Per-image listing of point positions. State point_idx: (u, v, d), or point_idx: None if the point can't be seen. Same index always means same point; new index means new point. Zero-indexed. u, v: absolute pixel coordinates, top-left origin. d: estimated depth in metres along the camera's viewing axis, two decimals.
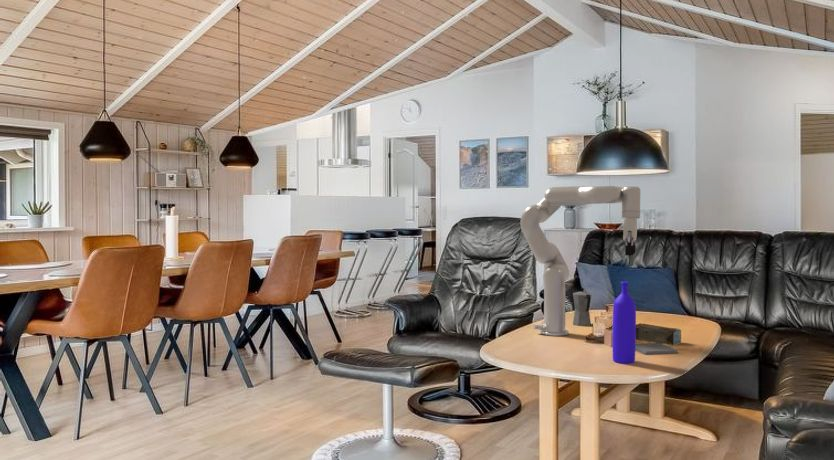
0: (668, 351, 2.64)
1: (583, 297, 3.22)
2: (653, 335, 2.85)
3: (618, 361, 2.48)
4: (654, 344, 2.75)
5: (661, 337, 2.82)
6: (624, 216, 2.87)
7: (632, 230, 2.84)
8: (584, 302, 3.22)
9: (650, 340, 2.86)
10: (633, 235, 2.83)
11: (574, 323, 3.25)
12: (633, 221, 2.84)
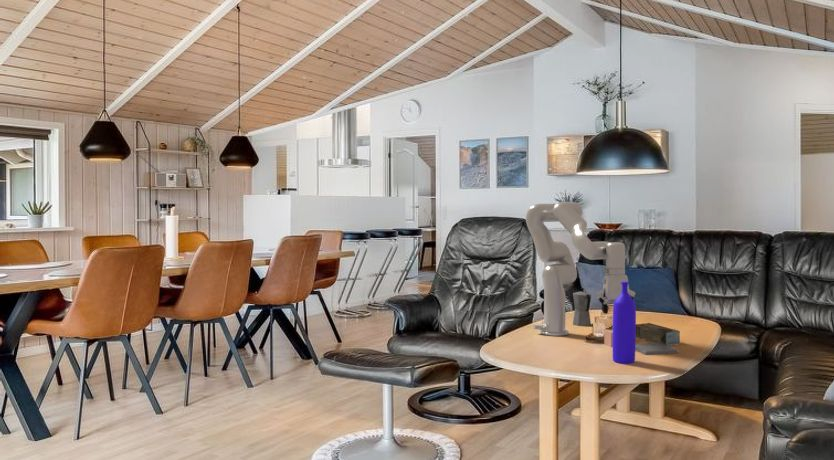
0: (668, 351, 2.64)
1: (583, 297, 3.22)
2: (650, 334, 2.86)
3: (618, 361, 2.48)
4: (654, 344, 2.75)
5: (657, 337, 2.83)
6: (624, 273, 2.76)
7: None
8: (584, 302, 3.22)
9: (648, 339, 2.88)
10: None
11: (574, 323, 3.25)
12: None
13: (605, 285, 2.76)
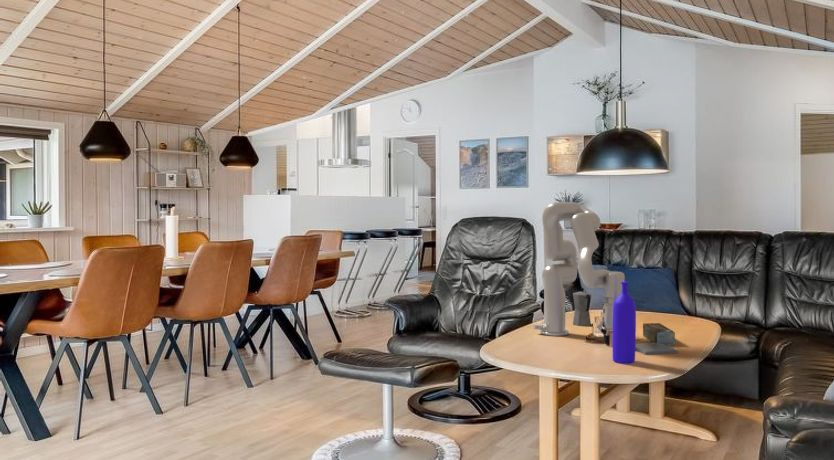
0: (668, 351, 2.64)
1: (583, 297, 3.22)
2: (649, 333, 2.88)
3: (618, 361, 2.48)
4: (654, 344, 2.75)
5: (652, 336, 2.84)
6: None
7: None
8: (584, 302, 3.22)
9: (648, 338, 2.89)
10: None
11: (574, 323, 3.25)
12: None
13: (604, 314, 2.77)
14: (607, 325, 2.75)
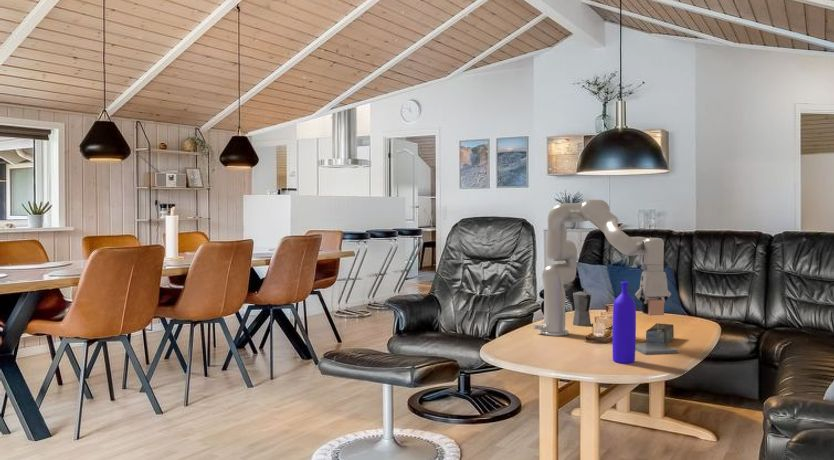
0: (668, 351, 2.64)
1: (583, 297, 3.22)
2: None
3: (618, 361, 2.48)
4: (654, 344, 2.75)
5: None
6: None
7: None
8: (584, 302, 3.22)
9: None
10: None
11: (574, 323, 3.25)
12: None
13: (643, 282, 2.67)
14: (646, 293, 2.66)
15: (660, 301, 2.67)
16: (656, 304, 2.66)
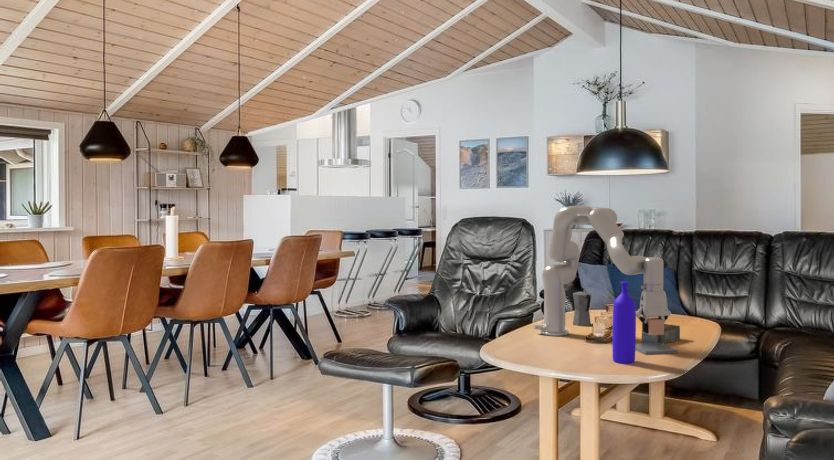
0: (668, 351, 2.64)
1: (583, 297, 3.22)
2: None
3: (618, 361, 2.48)
4: (654, 344, 2.75)
5: None
6: None
7: None
8: (584, 302, 3.22)
9: None
10: None
11: (574, 323, 3.25)
12: None
13: (643, 301, 2.68)
14: (646, 312, 2.66)
15: (660, 321, 2.67)
16: (656, 324, 2.67)
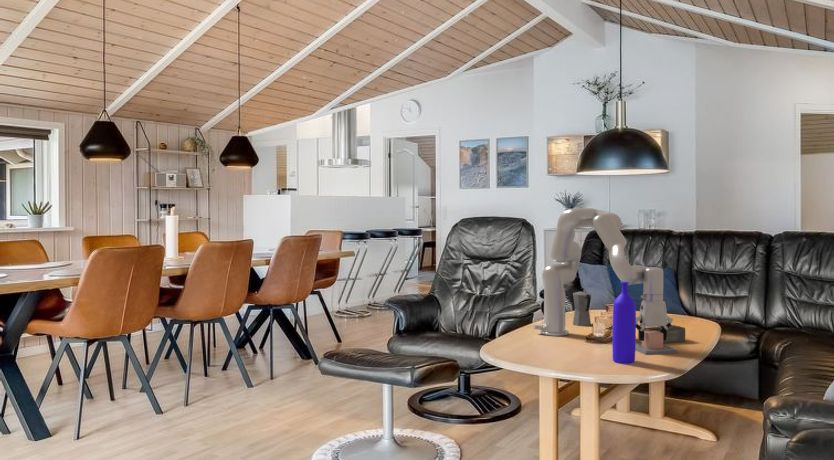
0: (668, 351, 2.64)
1: (583, 297, 3.22)
2: None
3: (618, 361, 2.48)
4: None
5: None
6: (662, 299, 2.68)
7: None
8: (584, 302, 3.22)
9: None
10: None
11: (574, 323, 3.25)
12: None
13: (642, 311, 2.68)
14: (645, 322, 2.66)
15: (659, 334, 2.67)
16: (656, 338, 2.67)
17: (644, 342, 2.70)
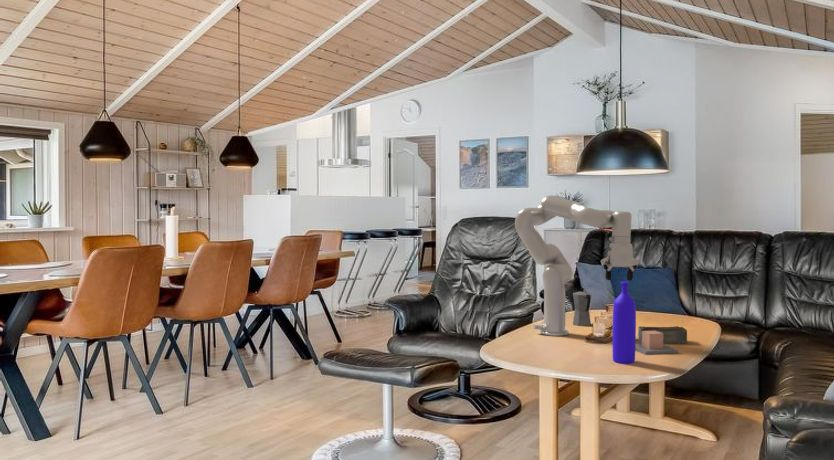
0: (668, 351, 2.64)
1: (583, 297, 3.22)
2: None
3: (618, 361, 2.48)
4: None
5: None
6: (629, 242, 2.83)
7: None
8: (584, 302, 3.22)
9: None
10: None
11: (574, 323, 3.25)
12: None
13: (610, 252, 2.84)
14: (612, 263, 2.82)
15: (659, 334, 2.67)
16: (656, 338, 2.67)
17: (644, 342, 2.70)
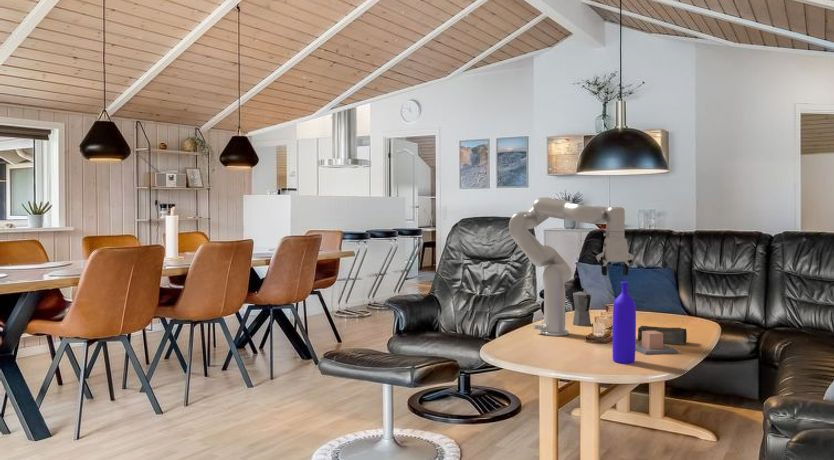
0: (668, 351, 2.64)
1: (583, 297, 3.22)
2: None
3: (618, 361, 2.48)
4: None
5: None
6: None
7: None
8: (584, 302, 3.22)
9: None
10: None
11: (574, 323, 3.25)
12: None
13: (605, 248, 2.86)
14: (608, 258, 2.85)
15: (659, 334, 2.67)
16: (656, 338, 2.67)
17: (644, 342, 2.70)
